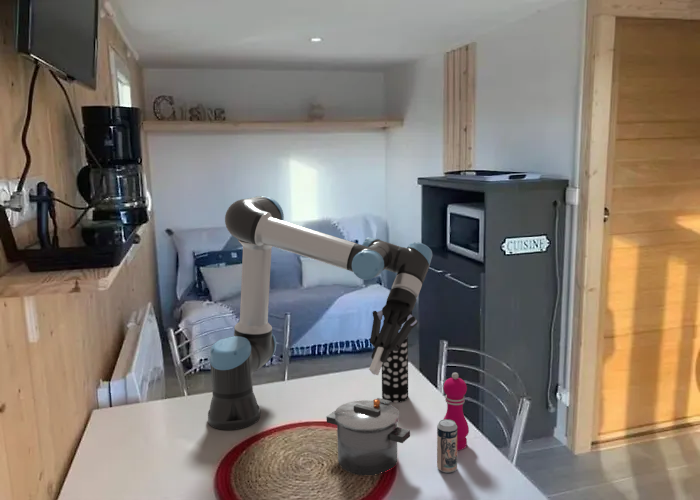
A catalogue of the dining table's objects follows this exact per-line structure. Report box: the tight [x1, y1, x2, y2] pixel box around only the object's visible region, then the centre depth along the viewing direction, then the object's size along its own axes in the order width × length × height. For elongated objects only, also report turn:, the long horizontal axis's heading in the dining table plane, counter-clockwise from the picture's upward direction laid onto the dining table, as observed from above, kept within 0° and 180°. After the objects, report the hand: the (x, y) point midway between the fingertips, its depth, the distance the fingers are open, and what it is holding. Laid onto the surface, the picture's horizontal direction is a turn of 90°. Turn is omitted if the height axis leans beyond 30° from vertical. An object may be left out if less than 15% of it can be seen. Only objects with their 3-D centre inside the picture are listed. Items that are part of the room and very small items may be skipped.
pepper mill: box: [442, 372, 470, 451], centre depth 151 cm, size 7×7×20 cm
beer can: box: [436, 418, 458, 474], centre depth 140 cm, size 5×5×12 cm
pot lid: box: [334, 397, 400, 431], centre depth 144 cm, size 16×17×3 cm
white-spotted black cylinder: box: [381, 335, 409, 404], centre depth 181 cm, size 8×8×20 cm
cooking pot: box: [325, 410, 411, 476], centre depth 145 cm, size 22×15×11 cm
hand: (373, 372), depth 146 cm, fingers closed
